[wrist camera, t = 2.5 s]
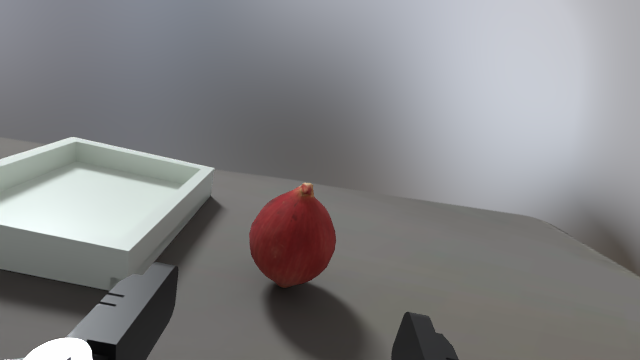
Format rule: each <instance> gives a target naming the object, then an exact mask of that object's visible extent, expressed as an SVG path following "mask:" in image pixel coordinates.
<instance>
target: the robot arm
mask: <svg viewBox="0 0 640 360" xmlns="http://www.w3.org/2000/svg"><path fill="white" fill-rule="evenodd" d="M177 280H178V266H174V265H169V264H164V263H159V262H154V263H153V264H152V265H151V266H150V267H149V268H148V269H147V270H146V272H145V273H144V274H143V275H139V274H132V275H130V276H128V277H127V278H125V279H123V280H121V281H119V282H118V283H117V284H116V285H115V286H114V287H113V288H112V289H111V290H110V291H109V293H108V295H106V296H105V297H104V298H103V299H102V300H101V301H100V303H99V304H97V305H96V306H95V307H94V308H93V309H92V310H91V311H90V313H89V314H88V315H87V316H86V317H85V318H84V319H83V320H82V321H81V322H80V323H79V324H78V325H77V326H76V327H75V328H74V329H73V330H72V331H71V333H70V334H69V335H68V336H67V337H66V338H65V339H59V340H55V341H51V342H49V343H46V344H44V345H42V346H40V347H38V348H37V349H35V350H34V351H32V352H31V353H30V354H29V355H28V356H27V357H26V358H20V359H9V360H146V359H147V357H148V355H149V354H150V352H151V350H152V349H153V347H154V345H155V344H156V342H157V341H158V339H159V337H160V336H161V334H162V332H163V331H164V329H165V327H166V326H167V324H168V322H169V321H170V318H171V316H172V313H173V310H174V306H175V300H176V290H177ZM391 360H459V359H458V357H457V355H456V353H455V350H454V348H453V346H452V345H451V344H450V343H449V342H448V340H447V339H446V338H445V337H444V336H443V335H442V334H439V333H436V332H435V330H434V327H433V325H432V322H431V320H430V318H429V316H426V315H421V314H416V313H411V312H406V313H405V314H404V316H403V319H402V322H401V325H400V328H399V330H398V333H397V336H396V339H395V342H394V344H393V348H392V356H391Z"/></svg>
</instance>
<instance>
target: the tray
mask: <svg viewBox="0 0 640 360" xmlns="http://www.w3.org/2000/svg"><path fill="white" fill-rule="evenodd" d="M214 169H215V168H211V167H207V166H202V165H198V164H193V163H188V162H184V161H180V160H175V159H171V158H166V157H162V156H157V155H152V154H148V153H143V152H139V151H134V150H130V149H125V148H121V147H116V146H111V145H107V144H102V143H98V142H94V141H89V140H84V139H80V138H75V137H71V138H68V139H64V140H61V141H58V142H55V143H51V144H48V145H45V146H42V147H38V148H35V149H32V150H29V151H25V152H22V153H19V154H16V155H12V156H9V157H6V158H3V159H0V269H3V270H8V271H13V272H18V273H23V274H28V275H33V276H38V277H43V278H48V279H53V280H58V281H63V282H68V283H73V284H78V285H83V286H88V287H93V288H98V289H103V290H108V291H110V290H111V289H112V288H113V287H114V286H115V285H116V284H117V283H118V282H119V281H121V280H123V279H125V278H127V277H128V276H130V275H132V274H139V275H143V274H144V273H145V272H146V270H147V269H148V268H149V267H150V266H151V265H152V264H153V262H154V261H155V260H156V259H157V258H158V257H159V255H160V254H161V253H162V252H163V251H164V250H165V248H166V247H167V246H168V245H169V244H170V243H171V241H172V240H173V239H174V238H175V237H176V236H177V234H178V233H179V232H180V231H181V230H182V229H183V227H184V226H185V225H186V224H187V223H188V222H189V220H190V219H191V218H192V217H193V216H194V215H195V213H196V212H197V211H198V210H199V209H200V208H201V206H202V205H203V204H204V203H205V202H206V201H207V199H208V198H209V197H210V196H211V191H212V184H213V176H214Z"/></svg>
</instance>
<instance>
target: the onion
mask: <svg viewBox="0 0 640 360" xmlns="http://www.w3.org/2000/svg"><path fill="white" fill-rule="evenodd" d="M249 237H250V250H251V255H252V257H253V259H254V262H255V264H256V265H257V266H258V268H259V269H260V270H261V272H262V273H263V274H264V275H265V276H267V277H268V278H270V279H271V280H273V281H274V282H275V283H276V284H277V285H278V286H280V287H283V288H287V287H290V286H293V285H298V284H303V283H305V282H308V281H310V280H312V279H313V278H315V277H316V276H318V275H319V274H320V273H321V272H322V271H323V270H324V269H325V268H326V267H327V266H328V263H329V261H330V259H331V257H332V255H333V253H334V250H335V243H336V236H335V230H334V227H333V224H332V221H331V218H330V215H329V213H328V211H327V210H326V208H325V207H324V206H323V205H322V204H321V203H320V202H319V201H318V200H317V199H316V198H315V197H314V193H313V185H312V184H310V183H303V184H302V185H301V186H299V187H297V188H296V189H294V190H292V191H289V192H287V193H285V194H282V195H280V196H278V197H276V198H274V199H272V200H271V201H270V202H268V203H267V204H266V205H265V206H264V208H263V209H262V210H261V211H260V213H259V214H258V216H257V217H256V219H255V220H254V222H253V223H252V226H251V230H250V233H249Z"/></svg>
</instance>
